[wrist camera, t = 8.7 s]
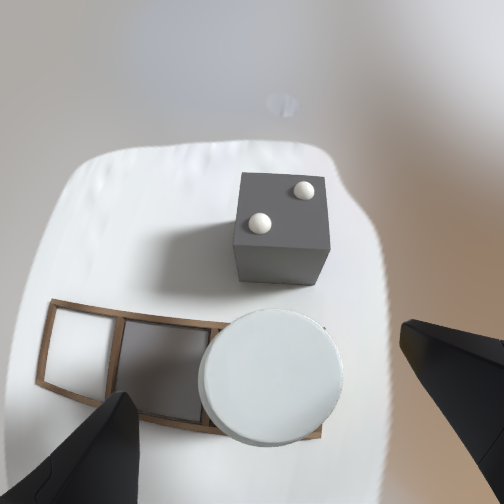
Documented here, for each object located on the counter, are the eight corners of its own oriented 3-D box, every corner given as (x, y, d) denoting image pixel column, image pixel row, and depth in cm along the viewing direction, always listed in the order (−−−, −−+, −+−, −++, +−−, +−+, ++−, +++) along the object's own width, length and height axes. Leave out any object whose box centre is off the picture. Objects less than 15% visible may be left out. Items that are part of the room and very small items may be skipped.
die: (312, 222, 21) (325, 170, 16) (314, 285, 19) (333, 243, 14) (245, 218, 22) (241, 165, 17) (239, 281, 19) (231, 238, 14)
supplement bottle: (214, 420, 15) (163, 448, 6) (226, 336, 17) (193, 276, 9) (305, 429, 14) (355, 466, 6) (313, 345, 17) (366, 292, 8)
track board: (323, 329, 18) (325, 327, 17) (319, 437, 14) (321, 438, 14) (55, 300, 19) (51, 298, 18) (39, 384, 15) (35, 383, 15)
